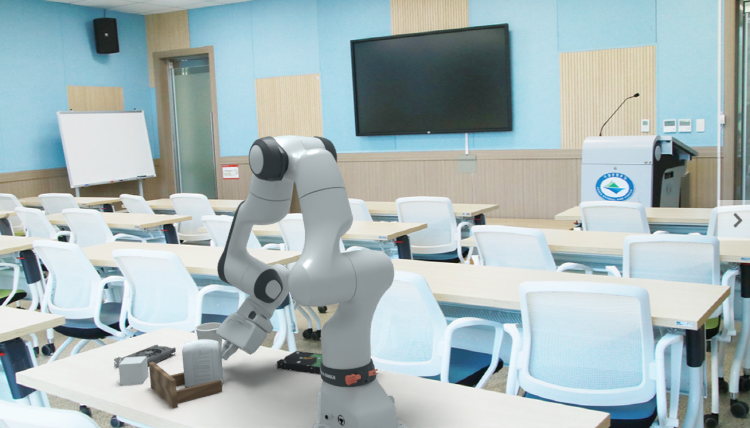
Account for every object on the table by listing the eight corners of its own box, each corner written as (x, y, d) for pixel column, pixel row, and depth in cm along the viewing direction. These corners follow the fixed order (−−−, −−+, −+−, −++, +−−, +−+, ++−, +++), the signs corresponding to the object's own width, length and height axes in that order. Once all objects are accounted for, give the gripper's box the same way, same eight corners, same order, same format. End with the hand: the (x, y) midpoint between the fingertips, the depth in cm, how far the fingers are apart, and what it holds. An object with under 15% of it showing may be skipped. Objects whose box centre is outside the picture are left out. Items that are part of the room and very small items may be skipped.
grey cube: (127, 378, 188) (125, 357, 188) (148, 376, 189) (146, 356, 188) (120, 385, 182) (118, 364, 182) (142, 384, 183) (140, 363, 182)
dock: (225, 394, 172) (223, 368, 172) (173, 408, 164) (170, 381, 164) (200, 375, 187) (198, 351, 186) (150, 388, 179) (148, 362, 178)
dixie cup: (217, 363, 197) (214, 330, 196) (192, 362, 200) (189, 329, 198) (230, 354, 205) (228, 322, 204) (206, 353, 207) (204, 321, 206)
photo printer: (225, 379, 183) (220, 335, 181) (223, 385, 178) (218, 340, 177) (186, 383, 182) (182, 339, 180) (183, 389, 177) (179, 344, 176)
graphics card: (143, 363, 191) (113, 357, 196) (144, 375, 192) (113, 370, 197) (184, 346, 206) (154, 341, 211) (184, 358, 207) (155, 353, 212)
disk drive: (276, 371, 191) (321, 376, 184) (275, 361, 190) (320, 366, 184) (296, 359, 200) (339, 364, 193) (295, 350, 200) (338, 355, 193)
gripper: (229, 303, 193) (199, 343, 189) (260, 317, 177) (228, 361, 172) (245, 315, 196) (215, 355, 192) (276, 330, 180) (245, 373, 175)
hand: (221, 358), depth 182 cm, fingers closed
